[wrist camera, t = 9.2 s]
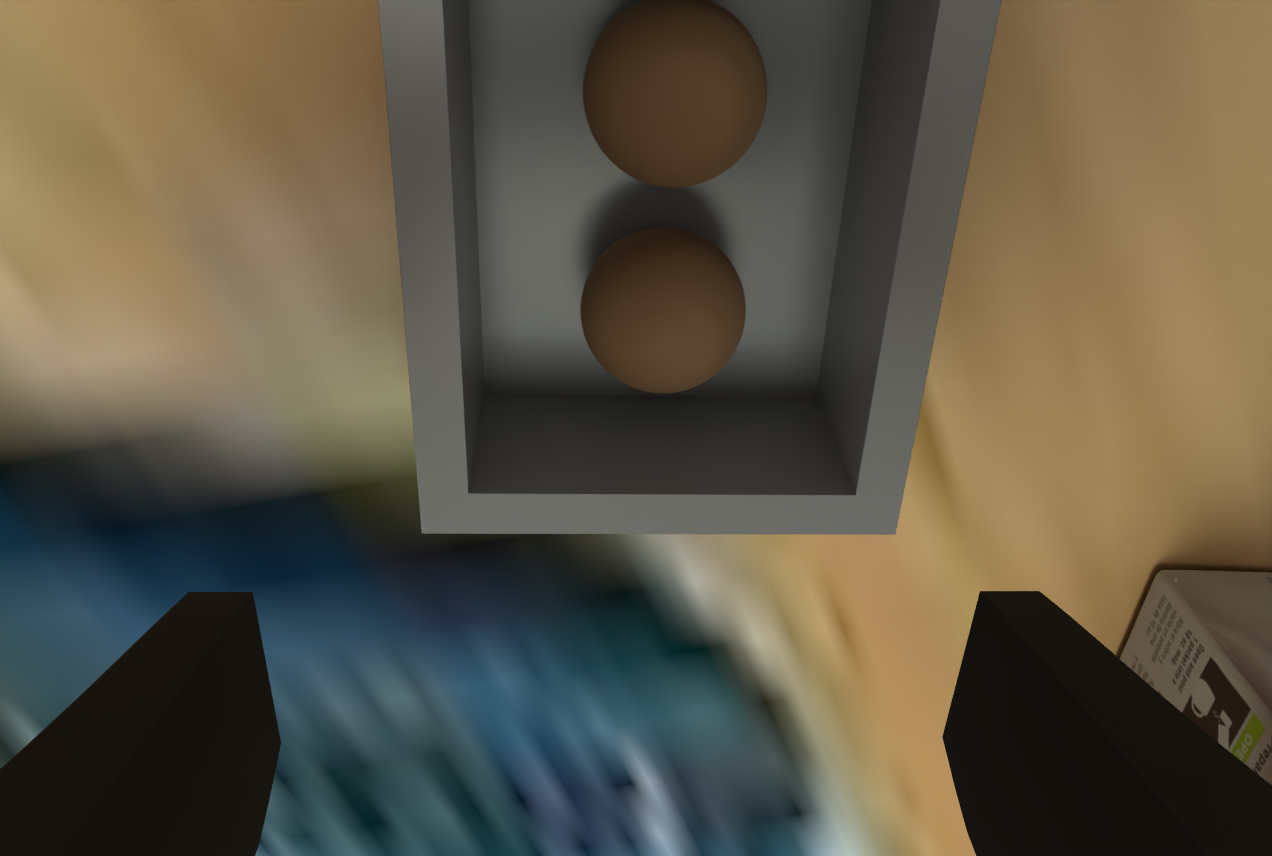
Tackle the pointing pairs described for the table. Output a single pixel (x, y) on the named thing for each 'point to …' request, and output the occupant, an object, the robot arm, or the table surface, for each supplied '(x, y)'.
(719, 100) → the bead
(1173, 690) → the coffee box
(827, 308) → the tub
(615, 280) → the bead
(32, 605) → the table surface
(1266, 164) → the table surface
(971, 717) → the robot arm
